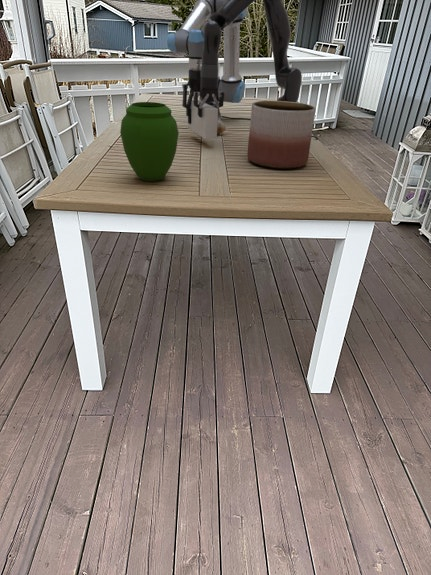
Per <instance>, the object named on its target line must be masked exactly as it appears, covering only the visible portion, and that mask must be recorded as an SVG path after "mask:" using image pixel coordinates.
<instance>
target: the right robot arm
mask: <svg viewBox="0 0 431 575" xmlns="http://www.w3.org/2000/svg"><path fill="white" fill-rule="evenodd" d="M255 1H256V0H227V1H226V2H225V3H224V4H223V6H222V7H221V8H220V9H219V10H218V11H217V12H216V13H214V14H213V15H212V16H211V17H210V18H209V19H207V20H205V22H204V23H203V25H202V26H201V28H200V30H201V34H202V36H203V38H204V48H203V50H202V65H201V89H200V92H195V91H194V92H193V99H192V100H194V106H195V107H197V108H198V116H199V117H200V118H202V109H201V108H202V106H203V105H204V104H205V102H209V101H210V102H213V103H214V105H215V108H217V109H218V115H219V110H220V108H221V107H224V103H225V102H224V92H218V90H217V89H218V76H219V50H220V45H221V40H222V31H224V28H225V27H226V26H228V25H230V24H231V23H232V22H233V21H234V20H235V19H236V18H237V17H238V16H239V15H240V14H241V13H242V12H243V11H244V10H245V9H246V8H247V9H248V7H250V6H251V5H252V4H253V3H254V2H255ZM262 1H263V9H264V13H265V18H266V24H267V25H266V26H267V29H268V30H267V31H268V36H269V40H270V45H271V51H272V52H271V53H272V56H273V65H274V75H275V82H276V85H277V87H278V88H280V89H282V90H284V92H283V95H282V96H280V97H278V98H277V100H276V101H287V102H296V103H298V101H299V98H300V93H301V89H302V88H301V87H302V83H303V74H302V71H301V69H299V68H297V67H292V66H290V64H289V59H288V49H289V46H290V42H291V38H292V31H291V23H290V19H289V18H290V17H289V14H288V11H287V10H286V7H285V5H284V2H283V0H262ZM199 95H200V96H201V99H200V101H199V104H198V100H199ZM217 95H218V96H219V104H218V101H217V99H216V97H217ZM311 138H314V139H316V140H319V137H317V136H316V135H312V136H311Z"/></svg>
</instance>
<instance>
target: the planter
mask: <svg viewBox="0 0 431 575" xmlns="http://www.w3.org/2000/svg"><path fill="white" fill-rule="evenodd" d="M316 109H317V108H316V107H315V106H313V105H311V104H308V103H302V102H297V103H296V102H287V101H277V100H259V101H255V102H252V104H251V113H250V119H251V120H250V122H249V123H250V124H249V131H248V132H249V133H248V142H247V153H246V155H247V159H248V160H249V161H250V162H251V163H253V164H255V165H257V166H259V167H264V168H267V169H268V168H269V169H274V170H275V169H277V170H292V169H298V168H301V167H303V166H305V165H306V164H307V163H308V161H309V155H310V151H311V142H312V137H311V136H313V129H314V122H315V116H316Z"/></svg>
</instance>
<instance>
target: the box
mask: <svg viewBox="0 0 431 575" xmlns="http://www.w3.org/2000/svg"><path fill="white" fill-rule="evenodd" d="M198 104H199V99H198ZM190 109H191V124H189V123H188V121H187V122H186V123H187V124H186V126H187V129H188V130H190V131H191V132H192V133H195V134H196V135H198V136H199V137H201V138H203V139H204V140H217V139H218V134H217V122H218V109H217V108H215V107H213V106H211V105H208V104H206V103H205V104H204V105H203V106H202V108H201V109H202V118H200V117H199V116H198V108H197V107H195V106H194V100H193V99H192V102H191V106H190Z"/></svg>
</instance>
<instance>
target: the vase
mask: <svg viewBox="0 0 431 575" xmlns="http://www.w3.org/2000/svg"><path fill="white" fill-rule="evenodd" d="M125 113H126V114H125V115H124V117H122V119H121V122H120V123H121V124H120V130H119V133H120V138H121V142H122V147H123V150H124V154H125V155H126V158H127V160H128V163H129V165H130V167H131V168H132V170H133V172H134V173H135V175H136V176H137V177H138V178H139V179H141V180H143V181H145V182H159V181H161V180H163V179H164V178H165V176H166V175H167V174H168V173H169V170H170V169H171V167H172V165H173V162H174V159H175V157H176V156H175V155H176V153H177V147H178V140H179V129H178V122H177V120H176V119H175V117H174V116H173V115H172V109H171V108H170V107H169V106H167V105H166V104H164V103H162V102H155V101H138V102H132V103H131V104H130V105H128V107H127V108H125Z"/></svg>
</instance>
